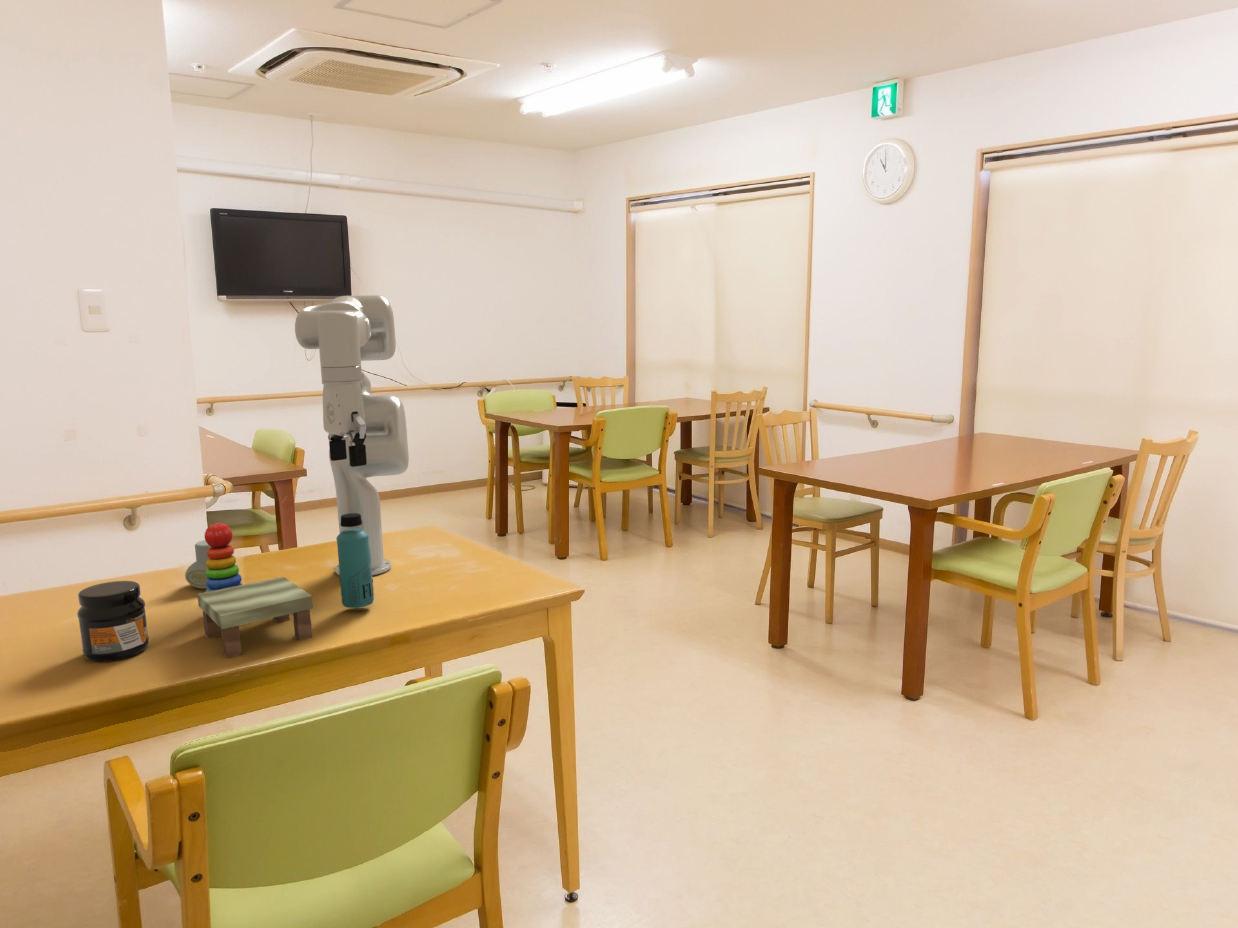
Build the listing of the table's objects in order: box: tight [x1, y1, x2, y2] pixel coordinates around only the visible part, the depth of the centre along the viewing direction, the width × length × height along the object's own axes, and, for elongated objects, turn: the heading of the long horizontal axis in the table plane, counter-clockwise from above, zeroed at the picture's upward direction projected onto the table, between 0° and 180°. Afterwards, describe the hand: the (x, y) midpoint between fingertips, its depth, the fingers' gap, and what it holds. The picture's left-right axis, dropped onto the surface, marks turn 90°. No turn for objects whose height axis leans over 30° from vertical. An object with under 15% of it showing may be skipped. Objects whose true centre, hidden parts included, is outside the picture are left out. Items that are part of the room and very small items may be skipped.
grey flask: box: [184, 539, 240, 590], centre depth 194 cm, size 11×8×10 cm
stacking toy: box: [204, 522, 244, 592], centre depth 175 cm, size 8×8×19 cm
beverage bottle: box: [336, 513, 375, 609], centre depth 175 cm, size 6×7×20 cm
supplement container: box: [76, 580, 150, 662], centre depth 156 cm, size 10×10×12 cm
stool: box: [197, 576, 314, 659], centre depth 163 cm, size 16×16×8 cm
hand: (348, 462), depth 172 cm, fingers open, 9 cm apart
